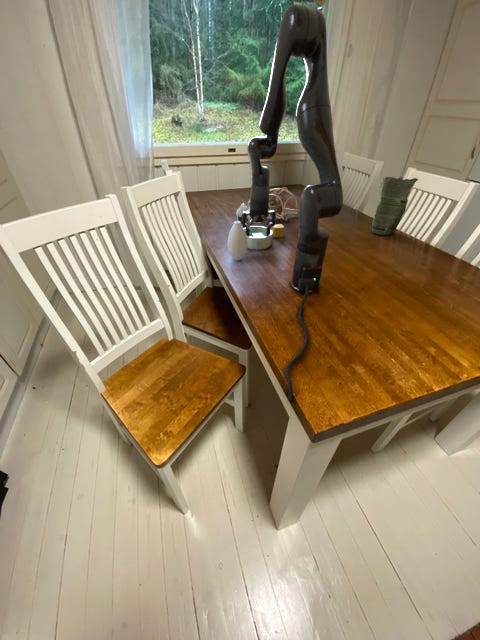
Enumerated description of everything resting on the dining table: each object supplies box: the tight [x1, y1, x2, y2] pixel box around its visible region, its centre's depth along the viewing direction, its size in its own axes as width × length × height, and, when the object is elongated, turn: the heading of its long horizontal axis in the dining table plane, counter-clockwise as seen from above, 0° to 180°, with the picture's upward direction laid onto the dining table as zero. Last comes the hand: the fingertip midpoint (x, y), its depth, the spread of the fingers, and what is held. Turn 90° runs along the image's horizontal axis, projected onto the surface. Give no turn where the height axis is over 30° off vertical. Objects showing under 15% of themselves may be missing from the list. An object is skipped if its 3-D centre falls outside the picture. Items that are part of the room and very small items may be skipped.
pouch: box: [370, 176, 419, 236], centre depth 128 cm, size 11×12×25 cm
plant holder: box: [235, 186, 300, 224], centre depth 147 cm, size 28×35×16 cm
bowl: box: [243, 225, 273, 251], centre depth 123 cm, size 14×14×6 cm
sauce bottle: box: [227, 215, 248, 261], centre depth 106 cm, size 8×8×18 cm
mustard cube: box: [271, 223, 285, 238], centre depth 130 cm, size 5×5×5 cm
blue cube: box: [252, 233, 264, 238], centre depth 121 cm, size 5×5×5 cm
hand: (257, 235), depth 119 cm, fingers open, 8 cm apart
